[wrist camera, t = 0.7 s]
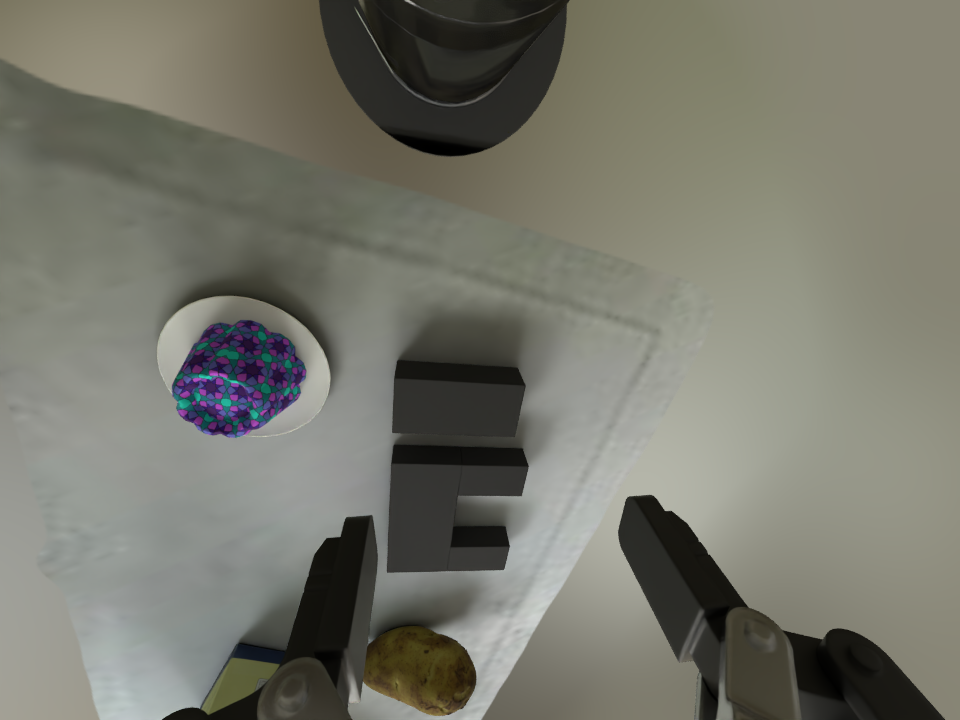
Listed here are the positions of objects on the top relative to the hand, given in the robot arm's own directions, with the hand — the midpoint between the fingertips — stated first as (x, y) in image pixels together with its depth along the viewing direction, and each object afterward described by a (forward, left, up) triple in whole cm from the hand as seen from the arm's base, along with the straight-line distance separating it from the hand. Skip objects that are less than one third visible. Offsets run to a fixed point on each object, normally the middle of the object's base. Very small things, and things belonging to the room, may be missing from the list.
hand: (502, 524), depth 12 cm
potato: (+42, -1, -20) cm, 47 cm away
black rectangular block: (+7, 0, -20) cm, 21 cm away
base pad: (+20, +1, -20) cm, 28 cm away
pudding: (+6, -16, -20) cm, 26 cm away
